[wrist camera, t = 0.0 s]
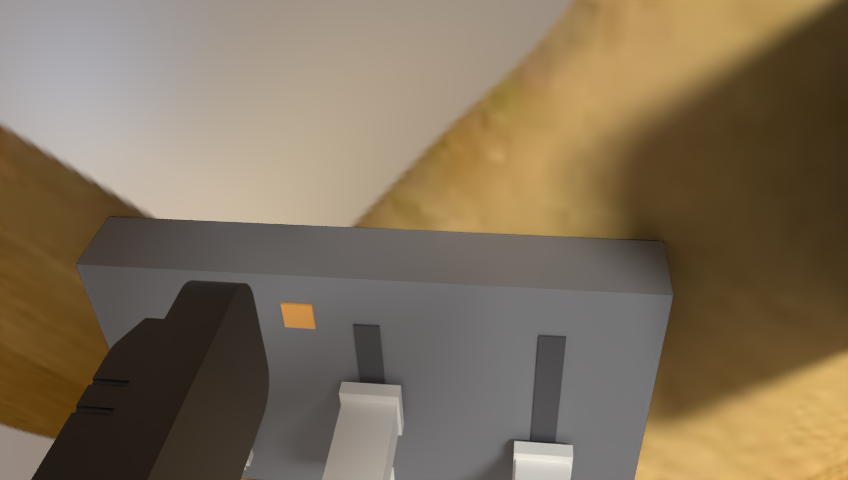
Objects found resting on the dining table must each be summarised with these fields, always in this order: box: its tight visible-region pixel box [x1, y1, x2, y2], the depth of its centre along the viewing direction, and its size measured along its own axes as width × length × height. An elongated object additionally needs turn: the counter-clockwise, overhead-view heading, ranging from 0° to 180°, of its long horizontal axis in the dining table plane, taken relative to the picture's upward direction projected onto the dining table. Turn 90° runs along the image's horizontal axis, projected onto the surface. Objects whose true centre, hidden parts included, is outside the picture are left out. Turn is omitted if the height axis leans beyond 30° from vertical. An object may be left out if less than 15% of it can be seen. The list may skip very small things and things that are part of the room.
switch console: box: [75, 217, 673, 480], centre depth 34 cm, size 13×22×3 cm, turn 92°
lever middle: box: [322, 382, 404, 480], centre depth 31 cm, size 2×2×5 cm
